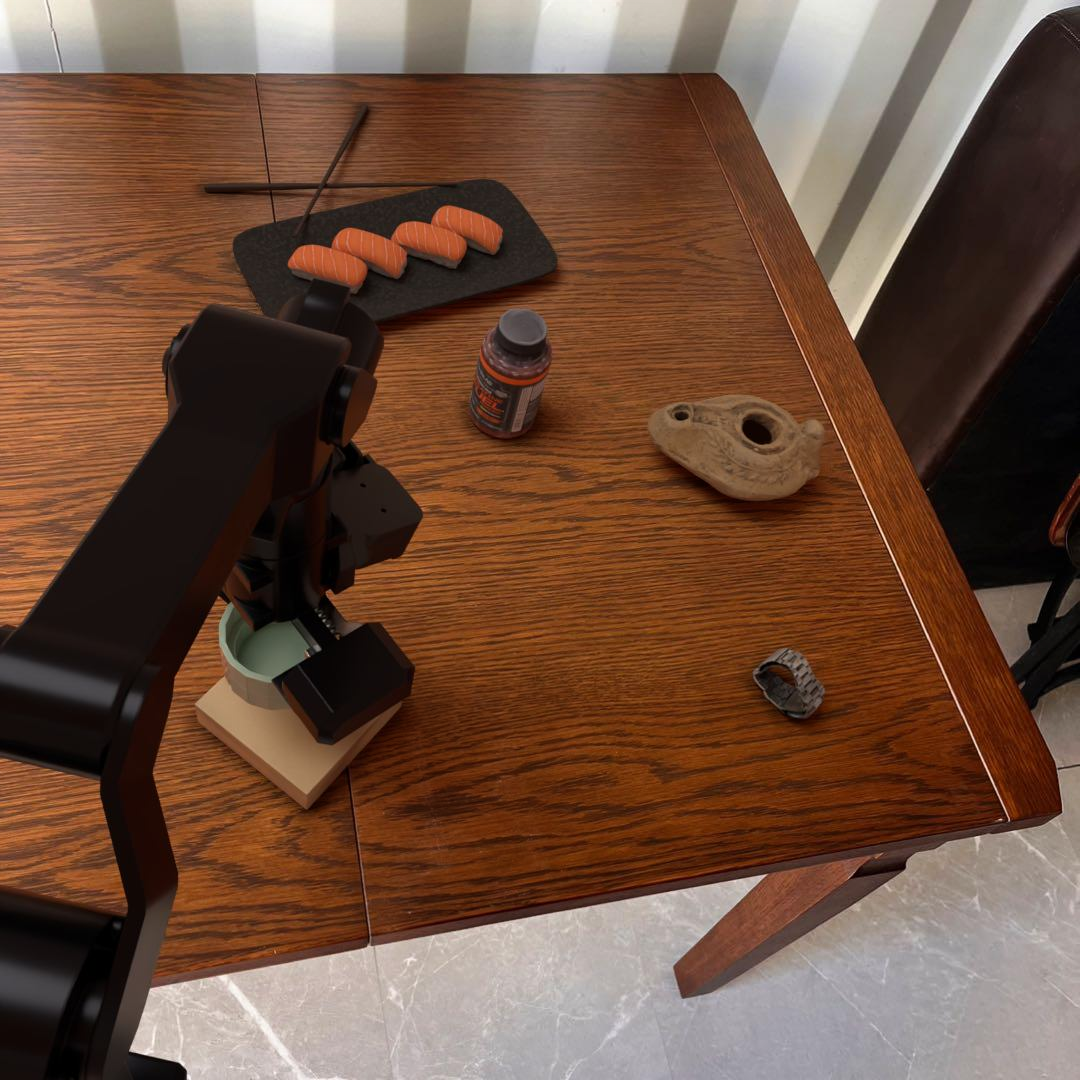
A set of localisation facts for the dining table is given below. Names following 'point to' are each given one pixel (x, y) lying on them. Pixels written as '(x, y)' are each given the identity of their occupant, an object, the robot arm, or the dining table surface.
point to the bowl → (258, 657)
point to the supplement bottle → (511, 374)
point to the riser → (282, 742)
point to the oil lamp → (740, 445)
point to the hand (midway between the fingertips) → (279, 652)
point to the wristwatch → (784, 695)
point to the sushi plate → (395, 245)
